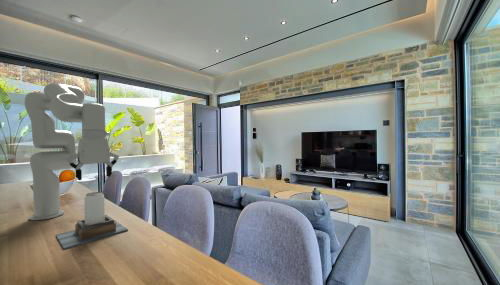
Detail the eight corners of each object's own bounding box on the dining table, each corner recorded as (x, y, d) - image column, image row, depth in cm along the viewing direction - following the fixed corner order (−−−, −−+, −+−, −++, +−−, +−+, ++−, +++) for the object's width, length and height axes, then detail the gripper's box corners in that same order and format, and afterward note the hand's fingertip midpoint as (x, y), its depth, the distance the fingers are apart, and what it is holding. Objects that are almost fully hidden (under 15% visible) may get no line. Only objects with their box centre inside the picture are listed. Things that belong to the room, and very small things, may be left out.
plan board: (56, 236, 84) (55, 223, 84) (114, 221, 99) (114, 210, 99) (63, 249, 74) (63, 235, 74) (127, 230, 89) (127, 218, 89)
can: (94, 227, 84) (93, 195, 83) (80, 226, 85) (80, 195, 85) (108, 221, 90) (108, 191, 90) (95, 220, 91) (95, 191, 91)
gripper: (115, 135, 96) (115, 174, 96) (63, 134, 83) (64, 179, 83) (121, 135, 91) (121, 176, 91) (67, 134, 78) (68, 182, 78)
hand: (94, 177), depth 87 cm, fingers open, 9 cm apart
